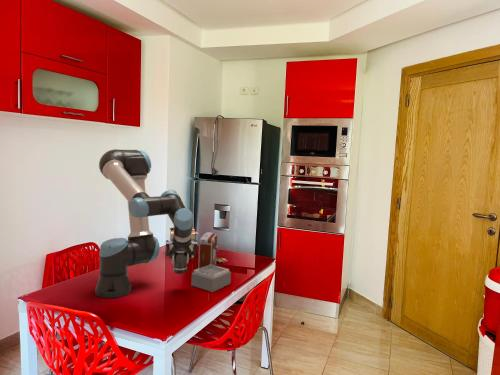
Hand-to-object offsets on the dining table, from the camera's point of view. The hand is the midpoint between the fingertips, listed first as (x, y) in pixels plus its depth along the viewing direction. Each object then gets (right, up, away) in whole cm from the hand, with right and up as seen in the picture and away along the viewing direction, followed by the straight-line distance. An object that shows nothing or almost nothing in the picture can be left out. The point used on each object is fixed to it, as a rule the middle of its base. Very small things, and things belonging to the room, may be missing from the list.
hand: (180, 260), depth 175 cm
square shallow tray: (+14, -13, +7) cm, 20 cm away
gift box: (-8, -7, +53) cm, 54 cm away
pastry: (+14, -10, +44) cm, 47 cm away
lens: (0, -4, -3) cm, 5 cm away
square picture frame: (+14, -7, +6) cm, 17 cm away
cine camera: (+10, -11, +28) cm, 32 cm away
